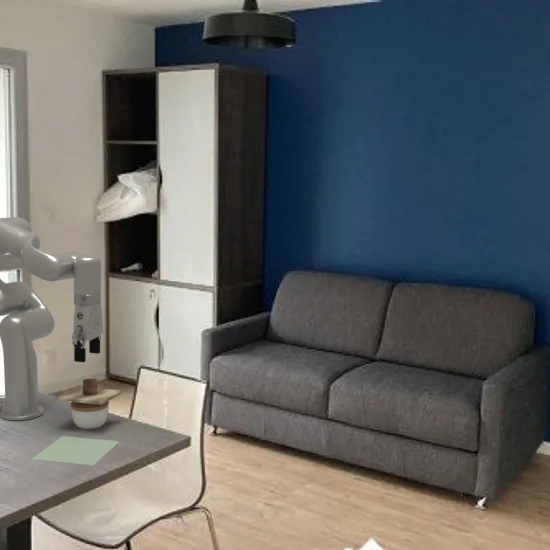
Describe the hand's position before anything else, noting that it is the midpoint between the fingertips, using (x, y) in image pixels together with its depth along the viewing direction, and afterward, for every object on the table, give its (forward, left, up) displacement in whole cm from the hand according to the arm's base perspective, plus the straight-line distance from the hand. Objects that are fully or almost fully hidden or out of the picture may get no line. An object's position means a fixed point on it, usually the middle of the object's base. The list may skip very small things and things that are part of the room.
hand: (87, 357), depth 217 cm
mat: (+6, -19, -21) cm, 29 cm away
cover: (+1, 0, -12) cm, 12 cm away
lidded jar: (+1, 0, -21) cm, 21 cm away
